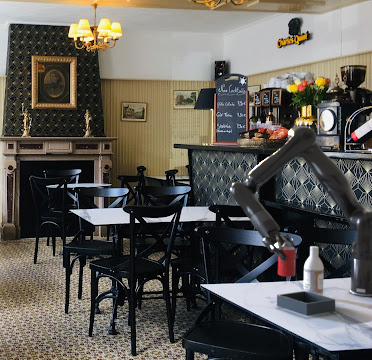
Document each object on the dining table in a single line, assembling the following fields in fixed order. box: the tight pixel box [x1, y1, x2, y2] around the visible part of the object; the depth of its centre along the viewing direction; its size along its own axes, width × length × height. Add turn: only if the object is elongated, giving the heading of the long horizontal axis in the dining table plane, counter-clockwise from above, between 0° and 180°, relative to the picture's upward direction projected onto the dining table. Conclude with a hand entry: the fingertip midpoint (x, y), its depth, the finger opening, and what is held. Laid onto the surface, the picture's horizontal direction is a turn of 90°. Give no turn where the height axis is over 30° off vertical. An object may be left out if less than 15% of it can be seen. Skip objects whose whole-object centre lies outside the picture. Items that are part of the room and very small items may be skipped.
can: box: [277, 246, 297, 277], centre depth 224 cm, size 6×6×10 cm
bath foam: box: [303, 245, 325, 296], centre depth 230 cm, size 7×7×20 cm
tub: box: [276, 290, 336, 316], centre depth 213 cm, size 14×14×5 cm
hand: (290, 258), depth 223 cm, fingers closed on can, 6 cm apart
